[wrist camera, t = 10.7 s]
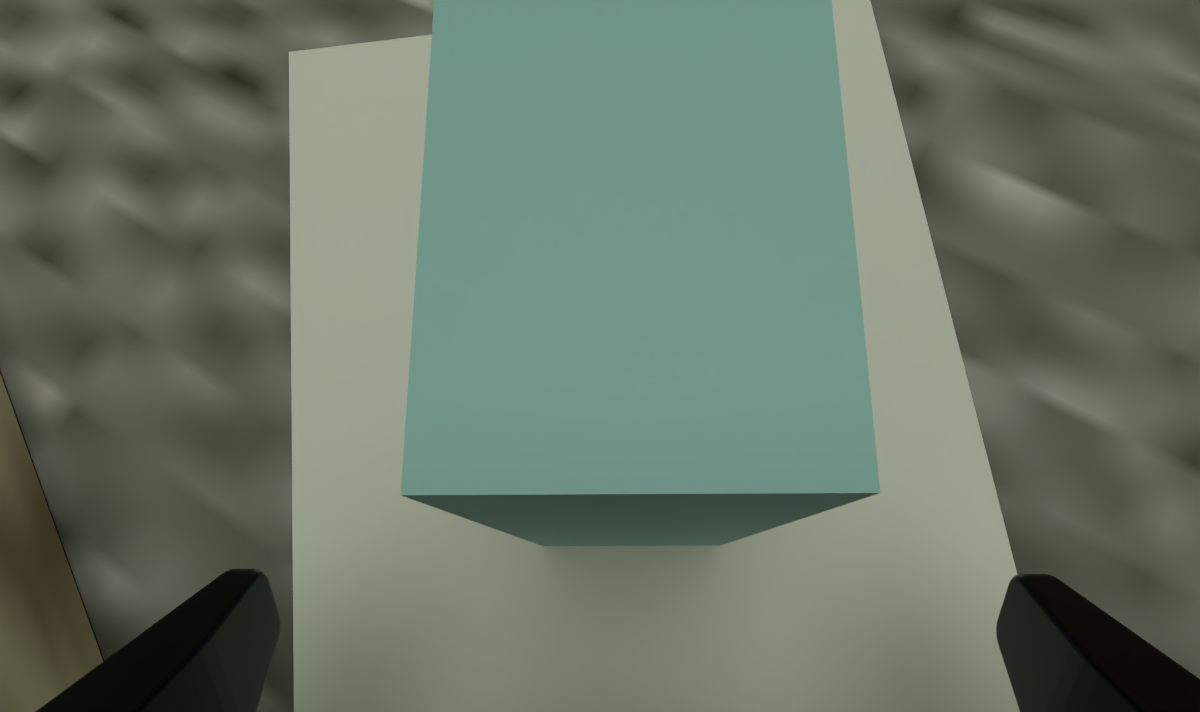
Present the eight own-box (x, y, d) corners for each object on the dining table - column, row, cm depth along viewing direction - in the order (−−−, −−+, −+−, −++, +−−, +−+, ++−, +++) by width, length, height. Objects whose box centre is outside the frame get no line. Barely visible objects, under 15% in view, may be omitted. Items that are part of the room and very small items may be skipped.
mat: (1099, 936, 14) (1112, 947, 13) (305, 1033, 14) (296, 1046, 13) (860, -7, 19) (865, -19, 19) (295, 62, 19) (288, 51, 19)
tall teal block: (720, 545, 15) (881, 493, 6) (542, 546, 15) (400, 495, 6) (709, 305, 17) (824, -70, 7) (547, 307, 17) (437, -60, 7)
